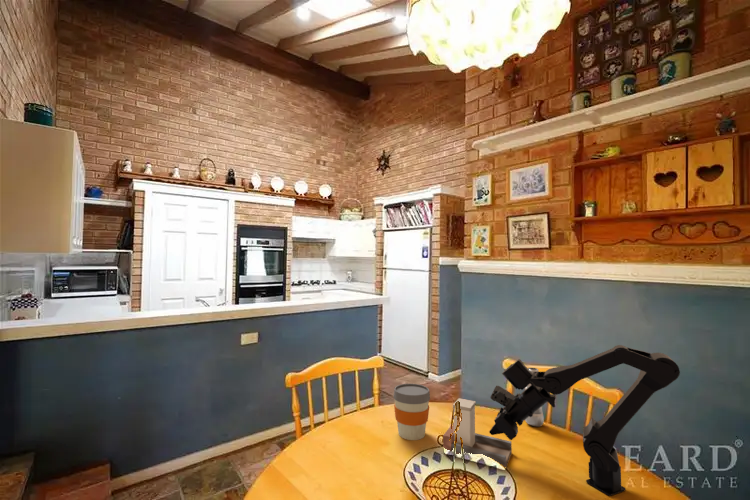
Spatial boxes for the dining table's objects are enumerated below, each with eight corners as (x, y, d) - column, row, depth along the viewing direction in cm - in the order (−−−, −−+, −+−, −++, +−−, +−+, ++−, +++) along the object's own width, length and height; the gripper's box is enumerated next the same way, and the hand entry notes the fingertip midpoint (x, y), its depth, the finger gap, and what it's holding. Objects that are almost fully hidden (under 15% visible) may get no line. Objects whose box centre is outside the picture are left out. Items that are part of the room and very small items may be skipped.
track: (511, 453, 110) (511, 434, 110) (505, 470, 100) (505, 450, 100) (454, 438, 119) (454, 421, 119) (443, 453, 109) (443, 435, 109)
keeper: (475, 442, 113) (475, 401, 114) (470, 451, 107) (470, 408, 108) (459, 438, 116) (458, 398, 116) (453, 446, 110) (452, 404, 111)
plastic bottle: (532, 429, 126) (532, 372, 127) (520, 421, 132) (519, 367, 133) (548, 427, 128) (547, 370, 129) (534, 419, 134) (534, 365, 135)
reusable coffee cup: (430, 444, 115) (430, 396, 116) (391, 441, 117) (391, 394, 118) (430, 427, 127) (430, 384, 128) (395, 424, 129) (395, 382, 130)
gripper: (512, 371, 114) (478, 400, 119) (501, 388, 98) (462, 421, 103) (540, 400, 110) (503, 430, 115) (533, 423, 94) (491, 456, 99)
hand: (490, 433), depth 108 cm, fingers closed
